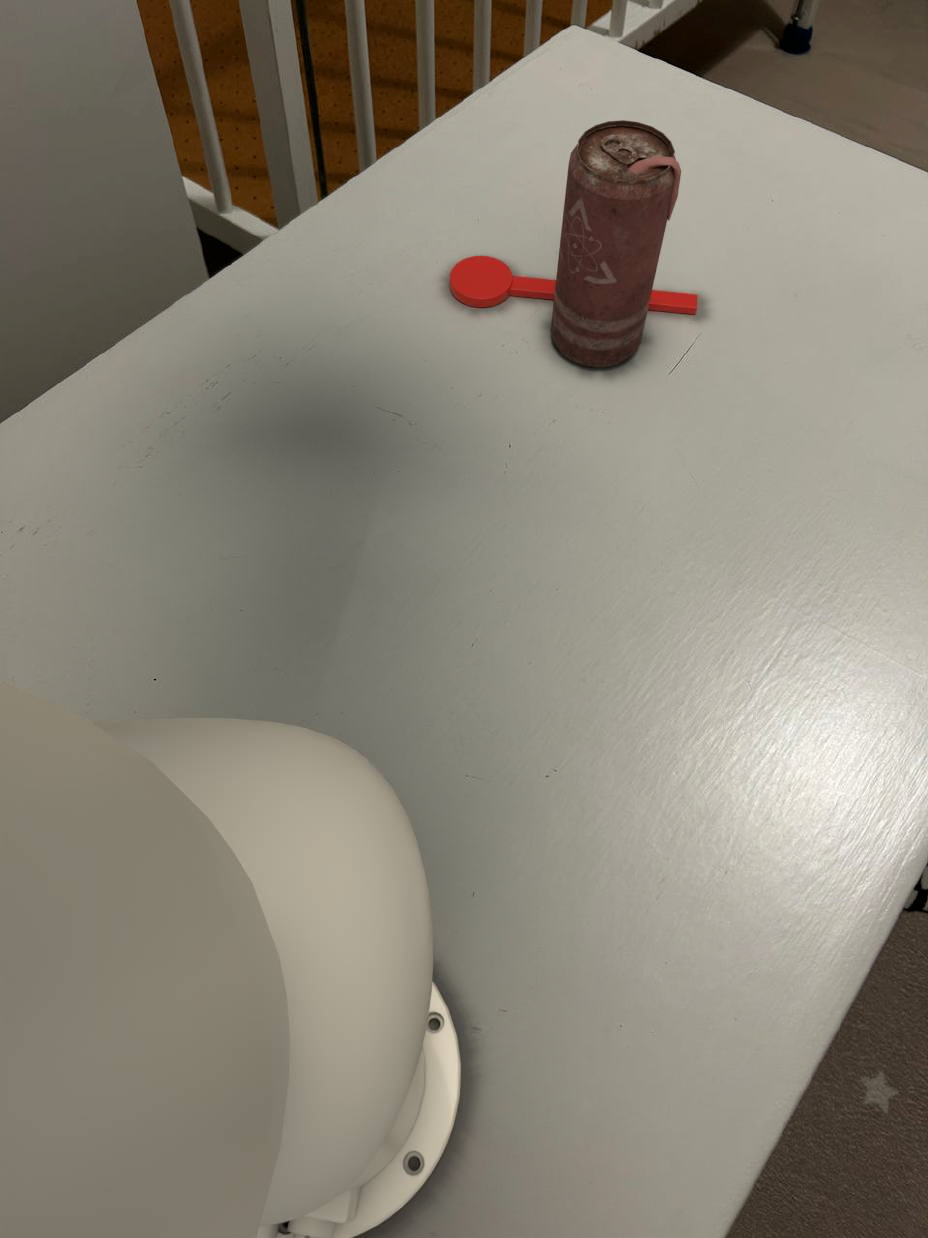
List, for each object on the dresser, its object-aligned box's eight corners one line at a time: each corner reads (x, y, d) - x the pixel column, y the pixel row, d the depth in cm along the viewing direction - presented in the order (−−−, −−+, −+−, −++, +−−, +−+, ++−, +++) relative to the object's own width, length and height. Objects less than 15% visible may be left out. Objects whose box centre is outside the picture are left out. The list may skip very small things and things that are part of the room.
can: (638, 378, 64) (681, 190, 52) (543, 363, 64) (563, 174, 52) (648, 314, 67) (691, 122, 55) (557, 300, 67) (579, 108, 55)
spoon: (696, 285, 68) (698, 276, 68) (694, 330, 66) (697, 321, 65) (454, 261, 69) (454, 252, 69) (445, 304, 67) (445, 295, 67)
